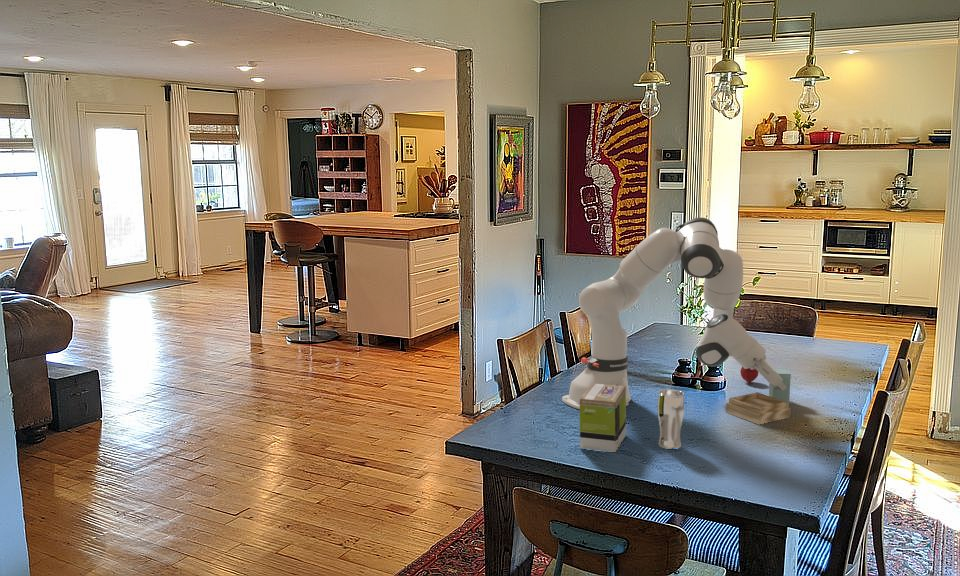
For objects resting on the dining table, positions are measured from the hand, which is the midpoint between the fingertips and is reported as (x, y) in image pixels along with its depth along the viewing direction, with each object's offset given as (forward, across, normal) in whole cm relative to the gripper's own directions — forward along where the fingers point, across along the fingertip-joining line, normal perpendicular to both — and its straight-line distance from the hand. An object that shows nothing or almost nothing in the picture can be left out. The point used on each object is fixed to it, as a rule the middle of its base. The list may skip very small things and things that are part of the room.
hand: (781, 385), depth 248 cm
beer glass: (-24, -41, +32) cm, 57 cm away
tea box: (-37, -39, +44) cm, 70 cm away
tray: (-3, -13, +11) cm, 17 cm away
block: (+3, 0, +4) cm, 5 cm away
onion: (0, +21, +8) cm, 22 cm away
